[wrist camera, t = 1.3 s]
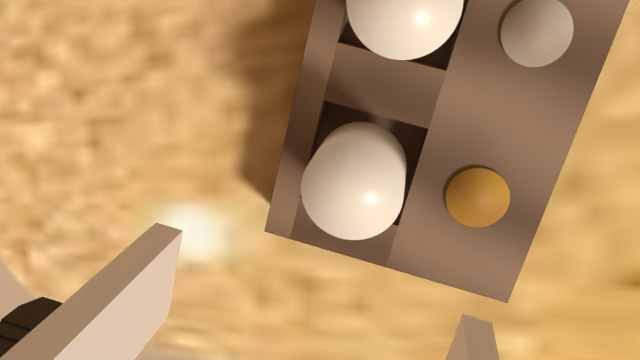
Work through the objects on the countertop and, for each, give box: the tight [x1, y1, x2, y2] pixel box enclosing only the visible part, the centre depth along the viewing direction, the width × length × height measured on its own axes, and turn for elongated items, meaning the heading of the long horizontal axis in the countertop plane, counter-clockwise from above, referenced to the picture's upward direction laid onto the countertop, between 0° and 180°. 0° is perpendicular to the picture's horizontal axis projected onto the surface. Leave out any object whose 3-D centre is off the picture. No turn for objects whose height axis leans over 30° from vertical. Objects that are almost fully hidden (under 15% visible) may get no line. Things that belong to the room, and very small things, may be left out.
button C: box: [301, 122, 407, 240], centre depth 27 cm, size 4×4×4 cm
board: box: [265, 0, 629, 303], centre depth 27 cm, size 26×13×3 cm, turn 167°
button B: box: [346, 0, 464, 60], centre depth 24 cm, size 4×4×4 cm
